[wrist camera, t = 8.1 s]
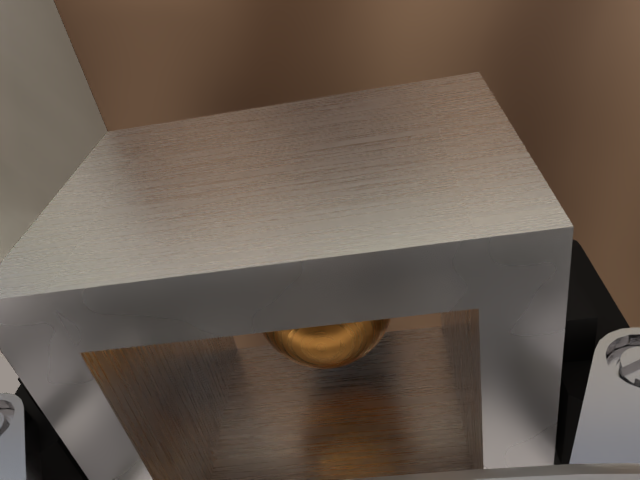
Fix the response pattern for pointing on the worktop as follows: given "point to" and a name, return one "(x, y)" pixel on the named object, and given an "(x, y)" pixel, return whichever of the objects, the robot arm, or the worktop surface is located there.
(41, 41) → the worktop surface
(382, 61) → the board
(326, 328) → the post
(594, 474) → the robot arm
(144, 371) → the white hollow square box
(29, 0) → the worktop surface
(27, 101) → the worktop surface
